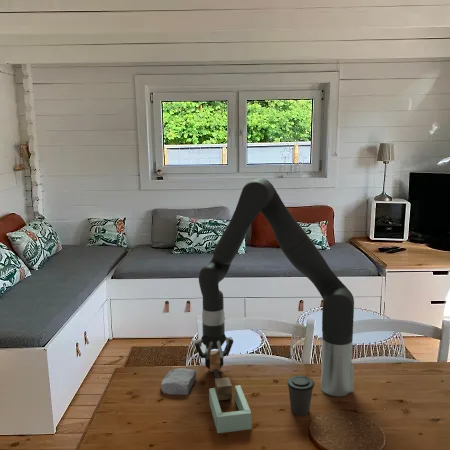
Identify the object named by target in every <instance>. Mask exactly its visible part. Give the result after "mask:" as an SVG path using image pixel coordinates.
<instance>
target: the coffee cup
mask: <svg viewBox="0 0 450 450" xmlns="http://www.w3.org/2000/svg"><path fill="white" fill-rule="evenodd" d="M286 385H287V386H288V394H289V395H288V396H289V402H290V403H289V405H290V412H291V413H292V414H293V415H295V416H300V417H305V416H306V415H309V413H310V408H311V401H312V395H313V389H314V388H315V385H316V384H315V381H314V380H313V379H312V378H310V377H308V376H306V375H293V376H290V377H289V378H288V379H287V381H286Z"/></svg>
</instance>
